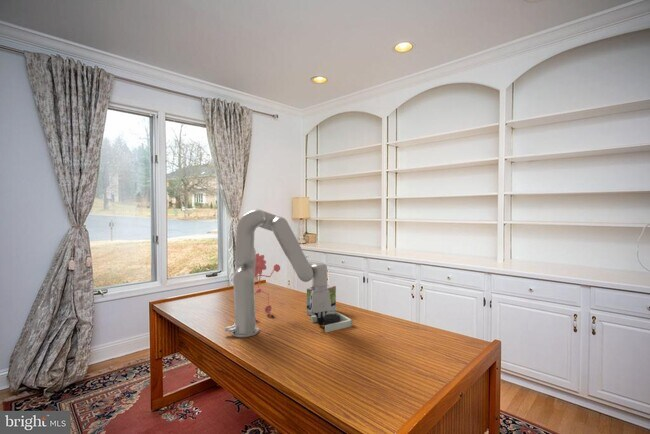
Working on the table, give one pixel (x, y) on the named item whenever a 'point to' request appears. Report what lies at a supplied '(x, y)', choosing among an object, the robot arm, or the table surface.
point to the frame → (335, 326)
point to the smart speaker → (331, 319)
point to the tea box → (332, 296)
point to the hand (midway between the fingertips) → (320, 324)
